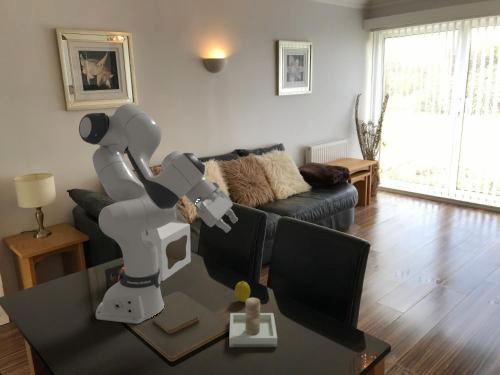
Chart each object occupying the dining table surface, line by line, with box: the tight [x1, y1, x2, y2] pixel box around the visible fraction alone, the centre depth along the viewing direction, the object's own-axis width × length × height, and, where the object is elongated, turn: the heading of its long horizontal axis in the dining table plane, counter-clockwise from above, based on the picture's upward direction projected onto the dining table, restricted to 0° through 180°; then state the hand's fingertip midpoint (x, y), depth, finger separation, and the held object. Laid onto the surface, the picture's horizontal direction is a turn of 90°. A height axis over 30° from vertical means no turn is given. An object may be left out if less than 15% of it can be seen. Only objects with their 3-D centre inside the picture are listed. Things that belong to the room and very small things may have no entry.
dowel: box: [245, 297, 261, 335], centre depth 125 cm, size 4×4×10 cm
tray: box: [228, 312, 278, 348], centre depth 126 cm, size 14×14×3 cm
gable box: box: [142, 204, 192, 282], centre depth 170 cm, size 22×13×28 cm, turn 157°
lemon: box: [234, 280, 251, 303], centre depth 145 cm, size 6×6×8 cm
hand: (232, 226), depth 130 cm, fingers open, 8 cm apart
